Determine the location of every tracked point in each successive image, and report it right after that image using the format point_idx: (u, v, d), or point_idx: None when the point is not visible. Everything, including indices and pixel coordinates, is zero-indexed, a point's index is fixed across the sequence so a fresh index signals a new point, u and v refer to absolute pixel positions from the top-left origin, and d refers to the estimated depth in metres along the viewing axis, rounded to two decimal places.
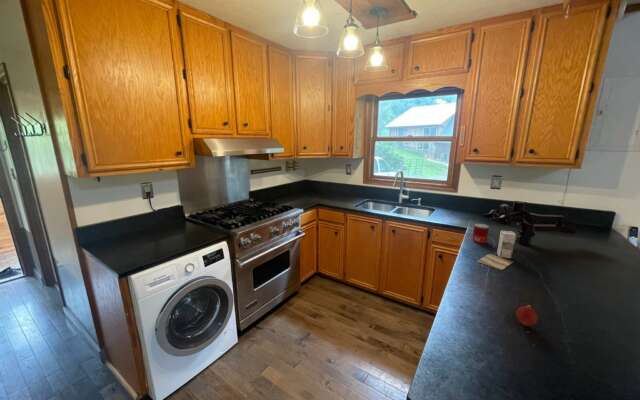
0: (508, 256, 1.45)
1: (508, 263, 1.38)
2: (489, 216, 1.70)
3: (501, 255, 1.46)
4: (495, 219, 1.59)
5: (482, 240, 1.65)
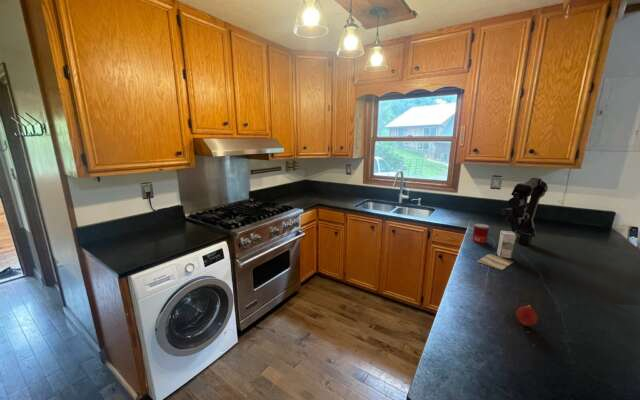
0: (508, 256, 1.45)
1: (508, 263, 1.38)
2: (519, 222, 1.54)
3: (501, 255, 1.46)
4: (513, 228, 1.51)
5: (482, 239, 1.65)
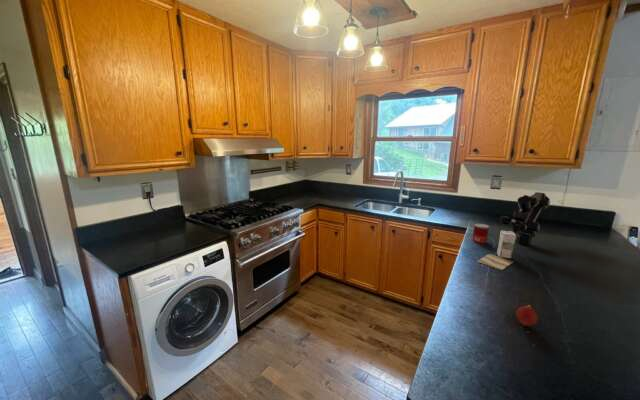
0: (508, 256, 1.45)
1: (508, 263, 1.38)
2: (515, 229, 1.53)
3: (501, 255, 1.46)
4: (517, 231, 1.51)
5: (482, 240, 1.65)
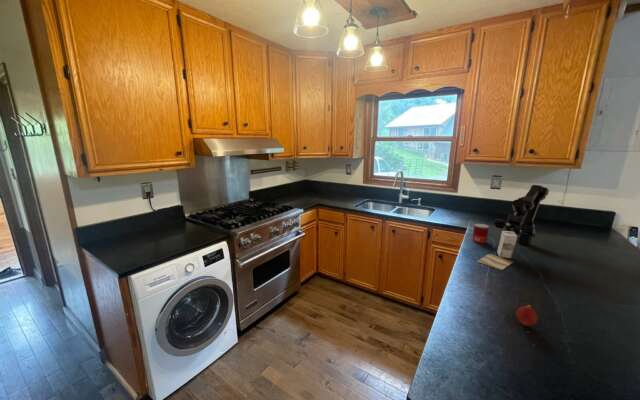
0: (508, 256, 1.44)
1: (508, 263, 1.38)
2: None
3: (501, 255, 1.46)
4: None
5: (482, 239, 1.65)
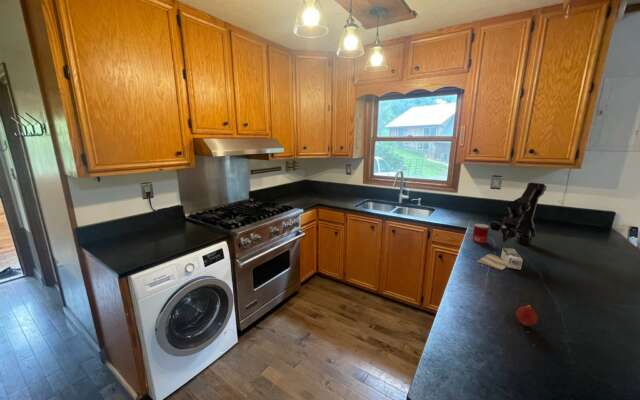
0: None
1: None
2: (506, 235, 1.45)
3: None
4: (507, 238, 1.43)
5: (482, 239, 1.65)
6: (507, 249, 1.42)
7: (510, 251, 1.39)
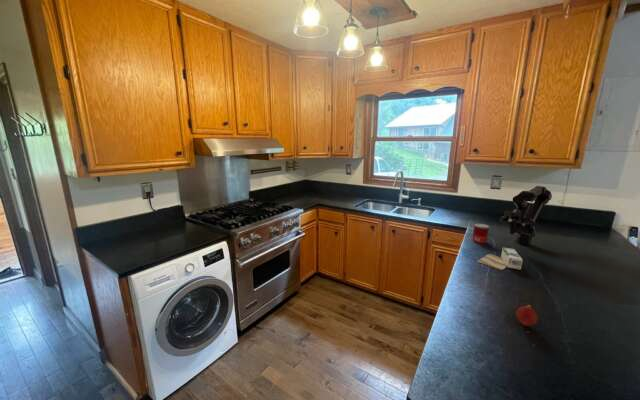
0: None
1: None
2: None
3: None
4: (514, 230, 1.52)
5: (482, 240, 1.65)
6: (507, 249, 1.42)
7: (510, 251, 1.39)
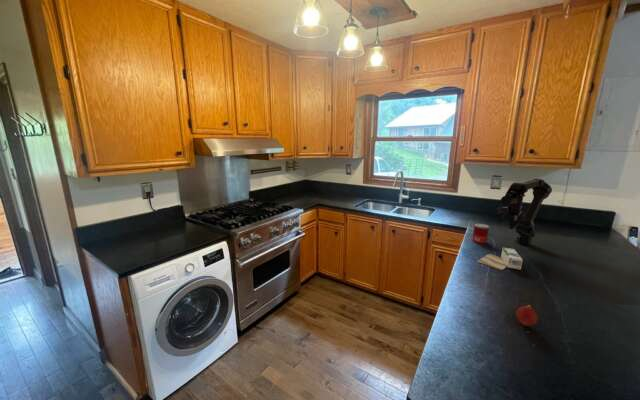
0: None
1: None
2: None
3: None
4: (511, 225, 1.57)
5: (482, 240, 1.65)
6: (507, 249, 1.42)
7: (510, 251, 1.39)
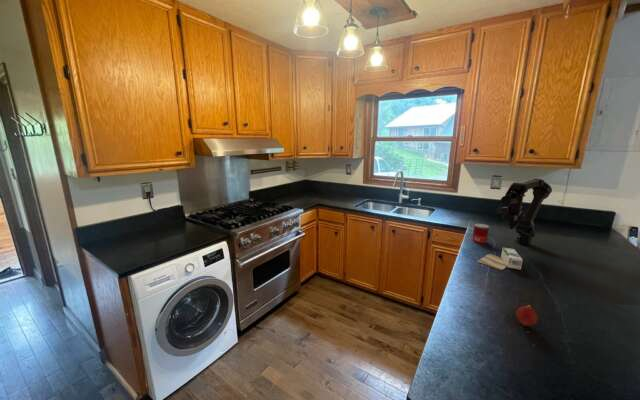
0: None
1: None
2: None
3: None
4: (511, 225, 1.57)
5: (482, 239, 1.65)
6: (507, 249, 1.42)
7: (510, 251, 1.39)
